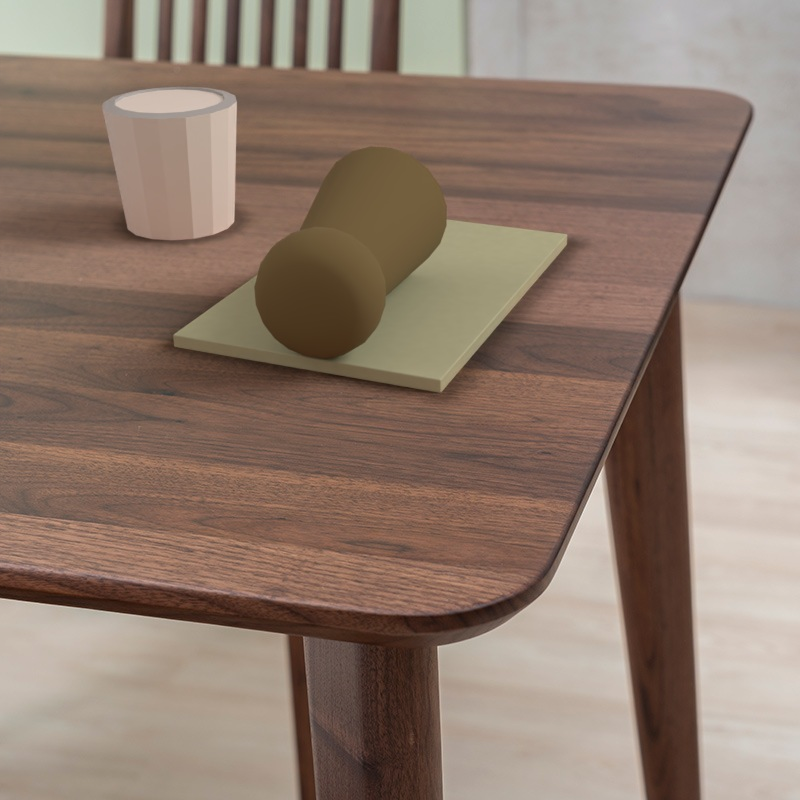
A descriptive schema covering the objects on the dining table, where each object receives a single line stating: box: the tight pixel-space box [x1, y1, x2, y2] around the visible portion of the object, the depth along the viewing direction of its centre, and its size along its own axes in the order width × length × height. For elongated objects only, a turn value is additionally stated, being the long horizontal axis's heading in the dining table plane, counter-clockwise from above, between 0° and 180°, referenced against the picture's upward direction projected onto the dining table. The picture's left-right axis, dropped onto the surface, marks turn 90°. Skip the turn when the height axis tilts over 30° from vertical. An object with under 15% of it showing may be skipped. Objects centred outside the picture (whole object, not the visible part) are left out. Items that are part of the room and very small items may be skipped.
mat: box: [172, 219, 568, 394], centre depth 58 cm, size 18×12×1 cm, turn 158°
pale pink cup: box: [101, 86, 238, 241], centre depth 66 cm, size 7×7×7 cm
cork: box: [254, 146, 448, 358], centre depth 53 cm, size 6×6×11 cm
